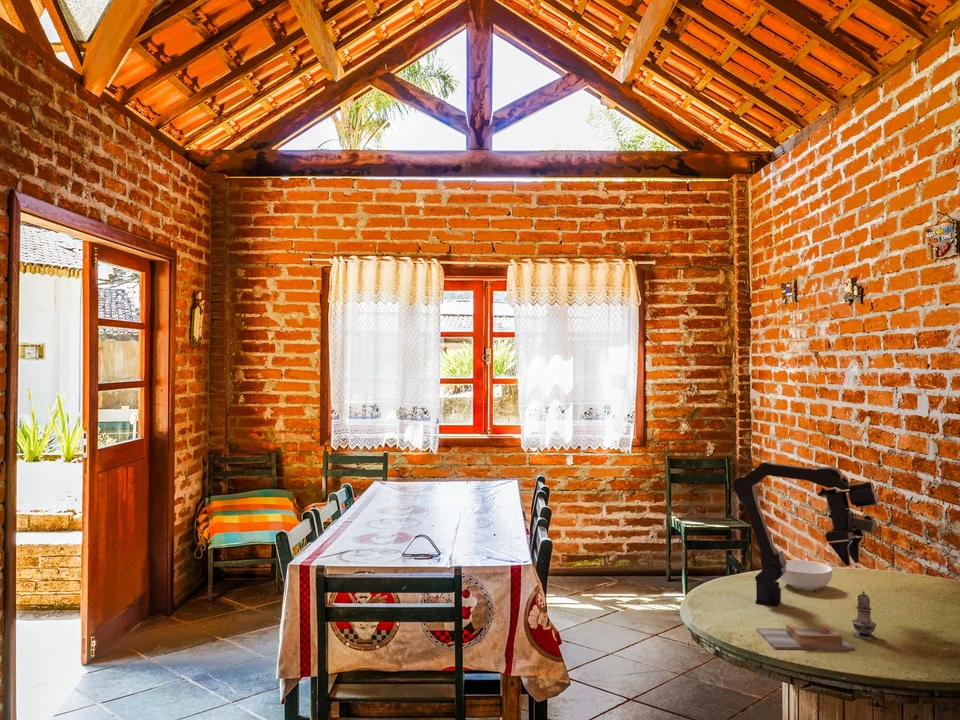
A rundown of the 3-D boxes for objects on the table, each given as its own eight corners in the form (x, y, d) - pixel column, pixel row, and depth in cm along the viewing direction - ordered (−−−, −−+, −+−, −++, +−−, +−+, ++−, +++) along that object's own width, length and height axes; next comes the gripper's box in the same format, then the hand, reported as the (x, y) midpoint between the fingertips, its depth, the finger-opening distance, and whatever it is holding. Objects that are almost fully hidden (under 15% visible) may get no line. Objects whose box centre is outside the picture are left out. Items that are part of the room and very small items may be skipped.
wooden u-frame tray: (756, 630, 201) (756, 619, 201) (831, 631, 200) (831, 620, 200) (774, 648, 187) (774, 636, 187) (855, 650, 186) (854, 637, 186)
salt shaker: (880, 640, 193) (879, 594, 193) (855, 639, 194) (854, 593, 194) (872, 633, 199) (871, 588, 199) (849, 632, 200) (848, 587, 200)
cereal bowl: (765, 583, 249) (765, 562, 249) (802, 578, 255) (802, 557, 255) (806, 597, 233) (805, 574, 233) (844, 591, 240) (843, 569, 240)
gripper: (860, 507, 205) (874, 565, 201) (877, 505, 219) (890, 559, 215) (818, 512, 212) (831, 568, 208) (837, 509, 226) (850, 562, 222)
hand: (852, 564), depth 213 cm, fingers open, 9 cm apart
